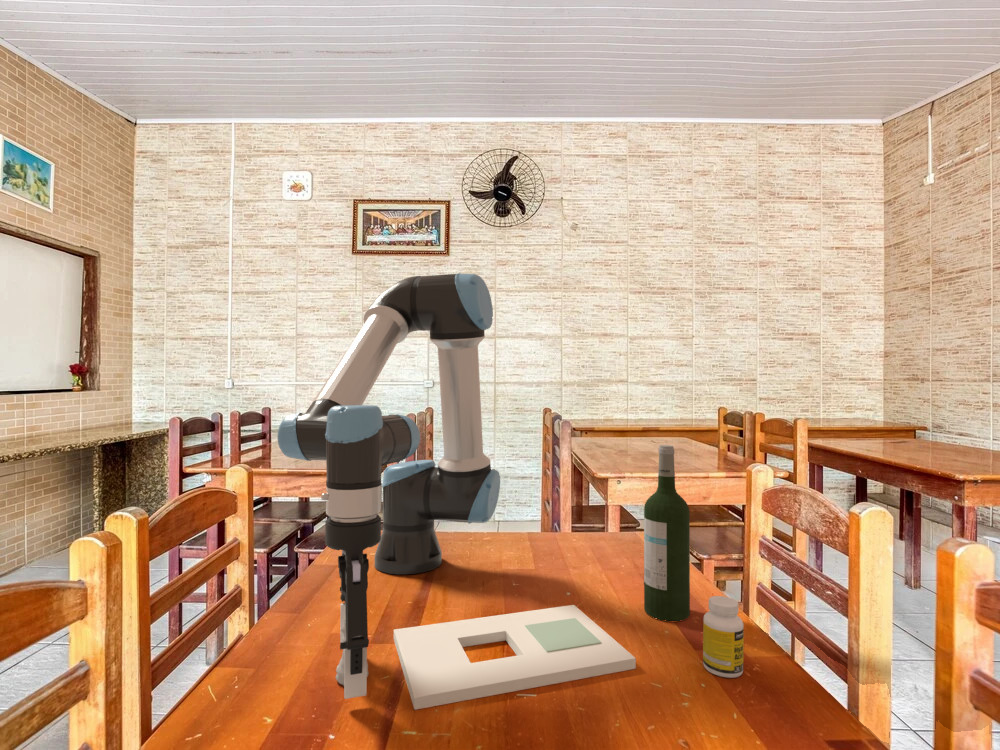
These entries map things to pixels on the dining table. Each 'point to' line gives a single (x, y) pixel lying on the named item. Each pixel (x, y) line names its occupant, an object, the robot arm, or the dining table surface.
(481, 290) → the robot arm
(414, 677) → the hole board
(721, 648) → the supplement bottle
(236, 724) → the dining table surface
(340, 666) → the rook chess piece
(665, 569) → the wine bottle
